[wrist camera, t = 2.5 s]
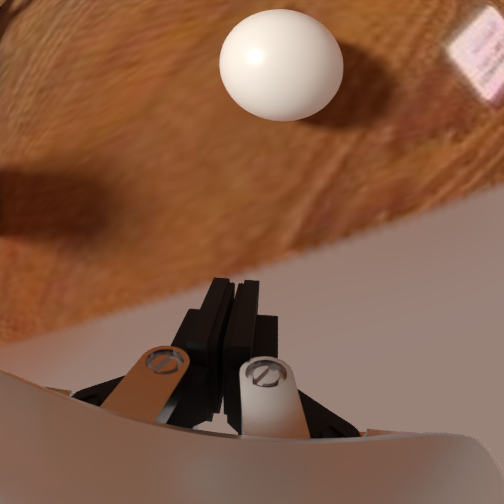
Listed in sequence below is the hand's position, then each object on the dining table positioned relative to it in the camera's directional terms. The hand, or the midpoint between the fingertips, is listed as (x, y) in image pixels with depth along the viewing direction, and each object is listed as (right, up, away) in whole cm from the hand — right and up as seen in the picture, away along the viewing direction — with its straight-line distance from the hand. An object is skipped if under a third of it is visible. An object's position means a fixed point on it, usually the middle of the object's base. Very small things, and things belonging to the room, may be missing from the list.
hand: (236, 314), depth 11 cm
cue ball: (+2, +11, 0) cm, 11 cm away
